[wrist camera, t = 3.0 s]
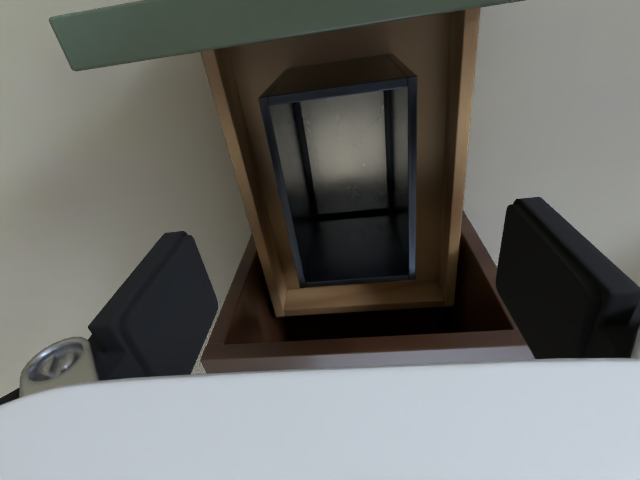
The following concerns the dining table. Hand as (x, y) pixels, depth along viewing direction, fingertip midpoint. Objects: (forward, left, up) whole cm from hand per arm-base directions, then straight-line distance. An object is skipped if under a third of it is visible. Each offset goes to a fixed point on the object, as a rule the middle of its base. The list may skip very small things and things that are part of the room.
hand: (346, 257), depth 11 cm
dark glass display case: (0, 0, -10) cm, 10 cm away
